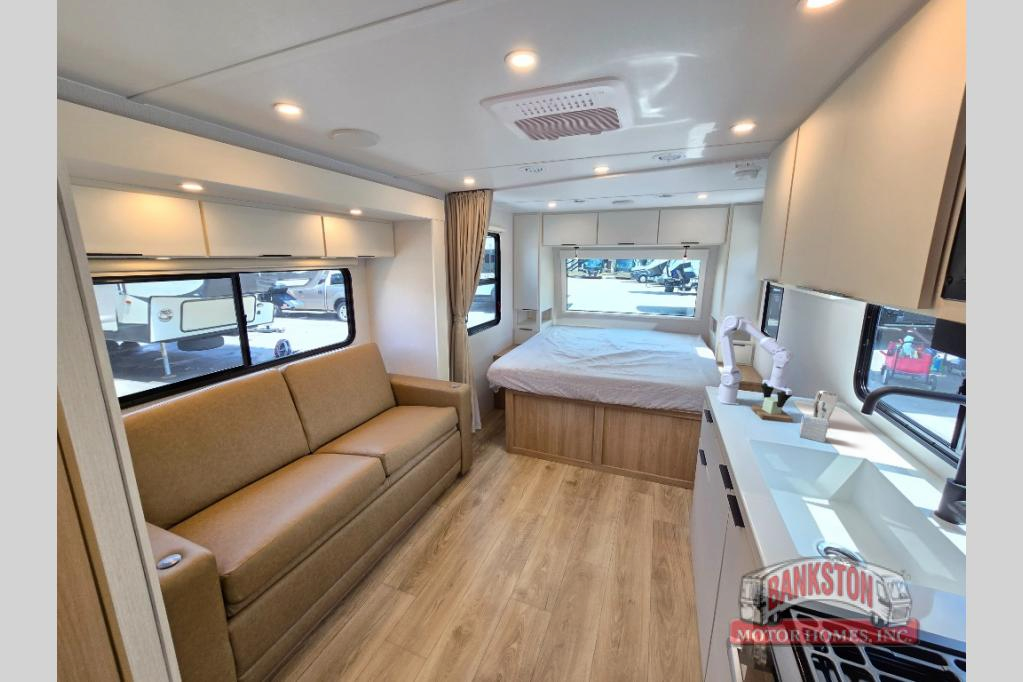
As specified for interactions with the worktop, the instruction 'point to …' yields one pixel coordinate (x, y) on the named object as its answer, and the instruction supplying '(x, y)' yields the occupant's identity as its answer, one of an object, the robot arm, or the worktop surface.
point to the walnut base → (771, 415)
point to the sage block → (771, 405)
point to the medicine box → (813, 428)
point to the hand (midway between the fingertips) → (773, 403)
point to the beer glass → (824, 404)
